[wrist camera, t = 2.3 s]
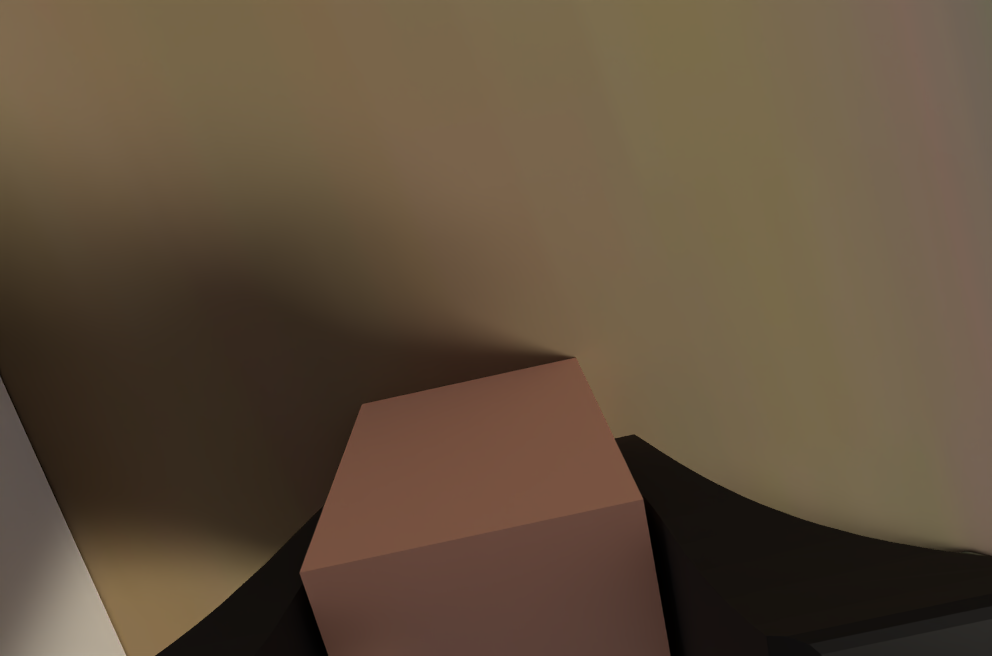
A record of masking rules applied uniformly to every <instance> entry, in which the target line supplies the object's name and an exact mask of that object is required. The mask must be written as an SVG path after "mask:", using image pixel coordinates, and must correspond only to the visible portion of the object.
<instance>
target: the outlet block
mask: <svg viewBox="0 0 992 656" xmlns="http://www.w3.org/2000/svg"><path fill="white" fill-rule="evenodd" d="M0 656H126V654H125V652H124V650H123V648H122V645H121V643H120V641H119V639H118V636H117V634H116V632H115V630H114V628H113V625H112V623H111V621H110V619H109V616H108V614H107V612H106V610H105V608H104V605H103V603H102V601H101V599H100V597H99V594H98V592H97V590H96V588H95V585H94V583H93V581H92V579H91V577H90V574H89V572H88V570H87V568H86V566H85V563H84V561H83V559H82V557H81V554H80V552H79V550H78V548H77V546H76V543H75V541H74V539H73V537H72V534H71V532H70V530H69V528H68V526H67V523H66V521H65V519H64V517H63V515H62V512H61V510H60V508H59V506H58V503H57V501H56V499H55V497H54V495H53V492H52V490H51V488H50V486H49V484H48V481H47V479H46V477H45V475H44V472H43V470H42V468H41V466H40V464H39V461H38V459H37V457H36V455H35V453H34V450H33V448H32V446H31V444H30V441H29V439H28V437H27V435H26V433H25V430H24V428H23V426H22V424H21V421H20V419H19V417H18V415H17V413H16V410H15V408H14V406H13V404H12V402H11V399H10V397H9V395H8V393H7V390H6V388H5V386H4V384H3V382H2V379H1V377H0Z"/></svg>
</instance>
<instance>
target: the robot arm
mask: <svg viewBox="0 0 992 656" xmlns="http://www.w3.org/2000/svg"><path fill="white" fill-rule="evenodd" d="M615 441H616V443H617V445H618V447H619V449H620V451H621V454H622V456H623V458H624V460H625V462H626V464H627V466H628V468H629V470H630V472H631V475H632V477H633V479H634V481H635V483H636V485H637V487H638V489H639V491H640V493H641V496H642V498H643V501H644V506H645V512H646V518H647V524H648V529H649V535H650V541H651V547H652V552H653V558H654V564H655V569H656V575H657V581H658V587H659V592H660V598H661V604H662V610H663V615H664V621H665V627H666V632H667V638H668V644H669V650H670V655H671V656H992V556H985V555H975V554H965V553H956V552H947V551H940V550H933V549H928V548H922V547H916V546H910V545H905V544H899V543H893V542H888V541H883V540H879V539H874V538H870V537H865V536H861V535H856V534H853V533H849V532H845V531H841V530H838V529H834V528H830V527H827V526H823V525H819V524H816V523H813V522H809V521H806V520H803V519H800V518H797V517H794V516H791V515H789V514H786V513H783V512H781V511H778V510H775V509H772V508H770V507H767V506H764V505H762V504H759V503H757V502H755V501H752V500H750V499H747V498H745V497H743V496H741V495H739V494H737V493H735V492H733V491H731V490H728V489H726V488H724V487H722V486H720V485H718V484H716V483H714V482H712V481H710V480H708V479H707V478H705V477H703V476H701V475H699V474H697V473H696V472H694V471H692V470H690V469H689V468H687V467H685V466H683V465H682V464H680V463H678V462H677V461H675V460H674V459H672V458H670V457H669V456H667V455H666V454H664V453H662V452H661V451H659V450H658V449H656V448H655V447H653V446H652V445H650V444H649V443H647V442H645V441H644V440H642V439H641V438H639V437H638V436H636V435H629V436H624V437H620V438H615ZM323 508H324V506H323V507H322V508H321V509H320V510H319V511H318V512H317V513H316V514H315V515H314V516H313V517H312V518H311V519H310V520H309V521H308V522H307V523H306V524H305V525H304V526H303V527H302V528H301V529H300V530H299V531H298V532H297V533H296V534H295V535H294V536H293V537H292V538H291V539H290V540H289V541H288V542H287V543H286V544H285V545H284V546H283V547H282V548H281V549H280V550H279V551H278V552H277V553H276V554H275V555H274V556H273V557H272V558H271V559H270V560H269V561H268V562H267V563H266V564H265V565H264V566H262V567H261V568H260V569H259V570H258V571H257V572H256V573H255V574H254V575H253V576H252V577H250V578H249V579H248V580H247V581H246V582H245V583H244V584H243V585H242V586H241V587H240V588H238V589H237V590H236V591H235V592H234V593H233V594H232V595H231V596H230V597H229V598H228V599H226V600H225V601H224V602H223V603H222V604H221V605H220V606H219V607H217V608H216V609H215V610H214V611H213V612H211V613H210V614H209V615H208V616H207V617H205V618H204V619H203V620H202V621H200V622H199V623H198V624H197V625H196V626H194V627H193V628H192V629H190V630H189V631H188V632H186V633H185V634H184V635H182V636H181V637H180V638H179V639H177V640H176V641H175V642H173V643H172V644H171V645H169V646H168V647H167V648H165V649H164V650H163V651H161V652H160V653H158V654H157V655H156V656H328V653H327V650H326V647H325V645H324V642H323V639H322V636H321V633H320V630H319V627H318V625H317V622H316V619H315V616H314V613H313V610H312V607H311V604H310V602H309V599H308V596H307V593H306V590H305V587H304V584H303V582H302V579H301V576H300V570H301V567H302V565H303V562H304V559H305V556H306V554H307V551H308V548H309V546H310V543H311V540H312V538H313V535H314V532H315V529H316V527H317V524H318V521H319V519H320V516H321V513H322V511H323Z"/></svg>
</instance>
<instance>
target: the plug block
mask: <svg viewBox="0 0 992 656" xmlns="http://www.w3.org/2000/svg"><path fill="white" fill-rule="evenodd" d="M300 576H301V579H302V582H303V584H304V587H305V590H306V593H307V596H308V599H309V602H310V604H311V607H312V610H313V613H314V616H315V619H316V622H317V625H318V627H319V630H320V633H321V636H322V639H323V642H324V645H325V647H326V650H327V653H328V656H671V655H670V650H669V644H668V638H667V632H666V627H665V621H664V615H663V610H662V604H661V598H660V592H659V587H658V581H657V575H656V569H655V564H654V558H653V552H652V547H651V541H650V535H649V529H648V524H647V518H646V512H645V506H644V501H643V498H642V496H641V493H640V491H639V489H638V487H637V485H636V483H635V481H634V479H633V477H632V475H631V472H630V470H629V468H628V466H627V464H626V462H625V460H624V458H623V456H622V454H621V451H620V449H619V447H618V445H617V443H616V441H615V439H614V437H613V435H612V432H611V430H610V428H609V426H608V424H607V422H606V420H605V418H604V416H603V414H602V411H601V409H600V407H599V405H598V403H597V401H596V399H595V397H594V395H593V393H592V390H591V388H590V386H589V384H588V382H587V380H586V378H585V376H584V374H583V372H582V369H581V367H580V365H579V363H578V361H577V359H576V358H571V359H566V360H562V361H557V362H553V363H548V364H544V365H539V366H534V367H530V368H525V369H521V370H516V371H511V372H507V373H502V374H498V375H493V376H489V377H484V378H479V379H475V380H470V381H466V382H461V383H457V384H452V385H447V386H443V387H438V388H434V389H429V390H425V391H420V392H415V393H411V394H406V395H402V396H397V397H392V398H388V399H383V400H379V401H374V402H370V403H365V404H362V405H361V408H360V411H359V413H358V416H357V419H356V421H355V424H354V427H353V430H352V432H351V435H350V438H349V440H348V443H347V446H346V448H345V451H344V454H343V457H342V459H341V462H340V465H339V467H338V470H337V473H336V475H335V478H334V481H333V484H332V486H331V489H330V492H329V494H328V497H327V500H326V502H325V505H324V508H323V511H322V513H321V516H320V519H319V521H318V524H317V527H316V529H315V532H314V535H313V538H312V540H311V543H310V546H309V548H308V551H307V554H306V556H305V559H304V562H303V565H302V567H301V570H300Z"/></svg>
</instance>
